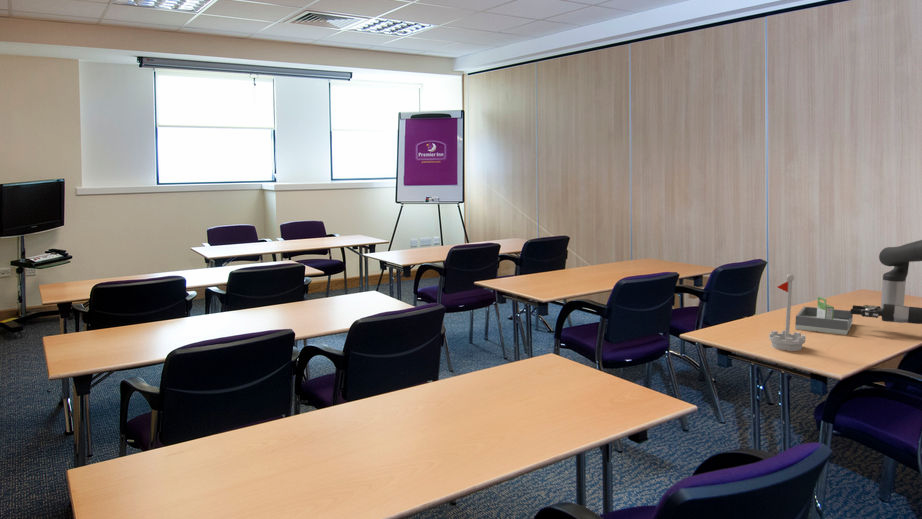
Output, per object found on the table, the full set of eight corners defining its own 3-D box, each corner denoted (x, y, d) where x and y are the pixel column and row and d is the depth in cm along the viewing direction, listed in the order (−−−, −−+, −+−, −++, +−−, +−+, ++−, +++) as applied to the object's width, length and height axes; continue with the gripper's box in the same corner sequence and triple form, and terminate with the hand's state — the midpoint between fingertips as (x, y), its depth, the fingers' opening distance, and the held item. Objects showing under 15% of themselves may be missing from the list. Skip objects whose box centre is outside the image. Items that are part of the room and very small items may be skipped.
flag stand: (793, 342, 265) (797, 271, 261) (811, 351, 252) (815, 276, 248) (762, 343, 264) (765, 271, 260) (779, 352, 252) (782, 277, 247)
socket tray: (803, 318, 306) (804, 306, 305) (852, 323, 294) (852, 311, 293) (795, 329, 287) (795, 316, 286) (846, 334, 275) (847, 321, 274)
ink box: (833, 328, 287) (834, 299, 285) (824, 328, 287) (825, 299, 285) (824, 324, 294) (826, 296, 292) (815, 324, 294) (817, 296, 292)
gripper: (896, 302, 279) (853, 298, 288) (895, 307, 268) (850, 303, 277) (895, 318, 280) (852, 314, 289) (894, 325, 269) (849, 320, 278)
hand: (851, 309), depth 283 cm, fingers open, 8 cm apart
